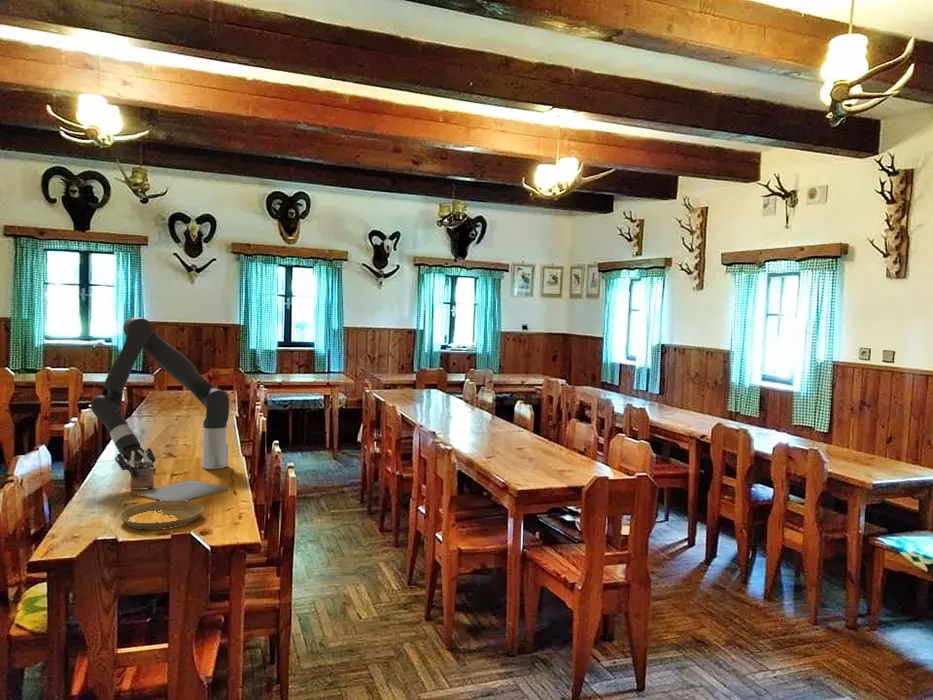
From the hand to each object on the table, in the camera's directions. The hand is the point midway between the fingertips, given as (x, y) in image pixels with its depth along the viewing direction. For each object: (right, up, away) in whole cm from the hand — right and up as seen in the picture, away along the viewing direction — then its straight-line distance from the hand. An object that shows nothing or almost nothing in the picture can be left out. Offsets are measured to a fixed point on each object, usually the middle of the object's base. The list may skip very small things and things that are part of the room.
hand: (145, 475), depth 253 cm
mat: (+15, -6, -2) cm, 16 cm away
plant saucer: (+21, -9, -34) cm, 41 cm away
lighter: (-2, -5, +1) cm, 6 cm away
